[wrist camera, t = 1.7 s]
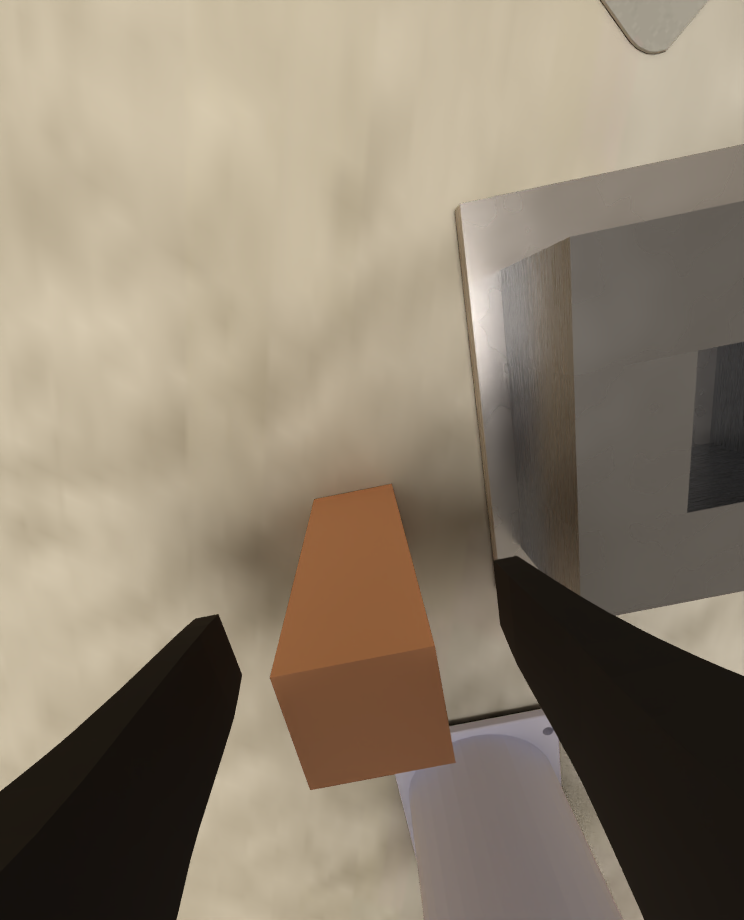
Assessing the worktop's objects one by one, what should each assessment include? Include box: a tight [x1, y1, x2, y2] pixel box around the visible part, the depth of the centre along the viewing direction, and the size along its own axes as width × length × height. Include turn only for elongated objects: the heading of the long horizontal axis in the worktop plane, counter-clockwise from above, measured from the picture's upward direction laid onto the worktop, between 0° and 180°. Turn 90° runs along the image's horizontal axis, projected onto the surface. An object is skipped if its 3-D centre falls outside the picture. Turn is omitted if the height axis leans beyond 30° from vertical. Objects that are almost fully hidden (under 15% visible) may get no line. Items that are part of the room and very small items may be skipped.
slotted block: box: [455, 144, 744, 616], centre depth 12 cm, size 14×12×5 cm
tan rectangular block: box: [270, 484, 456, 790], centre depth 11 cm, size 3×3×8 cm
